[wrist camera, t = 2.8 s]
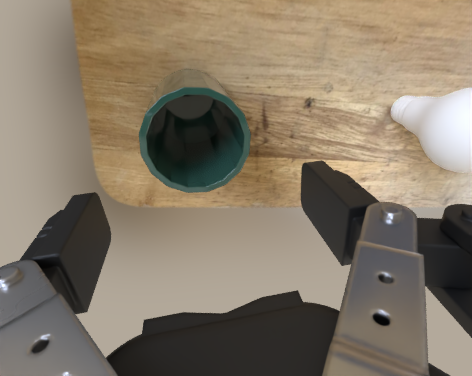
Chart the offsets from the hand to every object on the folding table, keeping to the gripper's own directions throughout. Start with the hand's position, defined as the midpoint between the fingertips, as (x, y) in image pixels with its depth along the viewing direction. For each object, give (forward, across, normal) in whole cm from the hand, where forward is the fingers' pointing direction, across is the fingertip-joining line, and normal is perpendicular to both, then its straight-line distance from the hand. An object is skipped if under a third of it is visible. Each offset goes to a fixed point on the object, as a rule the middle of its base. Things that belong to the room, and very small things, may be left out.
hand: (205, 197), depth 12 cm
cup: (+15, 0, 0) cm, 15 cm away
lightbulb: (+16, -20, +2) cm, 25 cm away
